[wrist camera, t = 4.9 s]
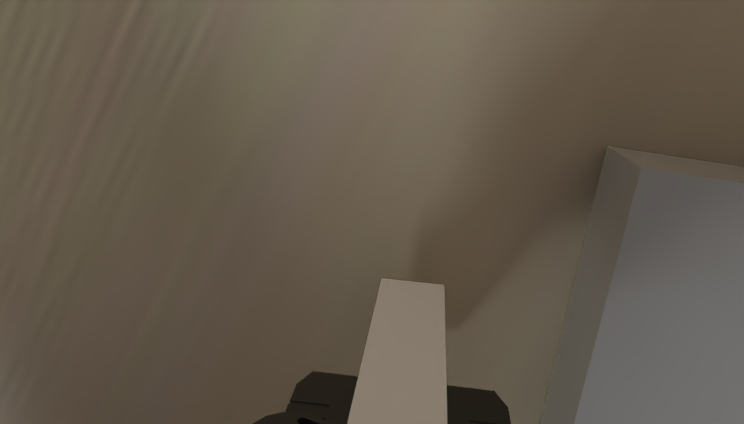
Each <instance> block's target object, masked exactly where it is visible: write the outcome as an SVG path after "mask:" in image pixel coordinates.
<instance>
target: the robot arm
mask: <svg viewBox="0 0 744 424" xmlns="http://www.w3.org/2000/svg"><path fill="white" fill-rule="evenodd" d="M253 424H511V422H510V416H509V411H508V407H507V406H506V405H505V404H504V402H503V401H502V400H501V399H500V397H499V396H498V395H497V394H496V393H495V391H489V390H481V389H473V388H464V387H456V386H448V385H447V382H446V335H445V289H444V285H441V284H432V283H423V282H413V281H404V280H395V279H385V278H381V282H380V287H379V291H378V295H377V299H376V303H375V308H374V312H373V316H372V320H371V325H370V329H369V333H368V337H367V342H366V346H365V350H364V354H363V358H362V363H361V367H360V371H359V375H358V377H356V376H348V375H339V374H331V373H323V372H314V371H313V372H311V373H310V374H309V375H308V376H306V377H305V378H304V379H303V380H301V381H300V382H299V383H297V385H296V387H295V390H294V392H293V395H292V397H291V400H290V403H289V404H288V407H287V409H286V412H281V413H277V414H273V415H268V416H266V417H264V418H262V419H260V420H258V421H257V422H255V423H253Z"/></svg>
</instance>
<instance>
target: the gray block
mask: <svg viewBox="0 0 744 424" xmlns="http://www.w3.org/2000/svg"><path fill="white" fill-rule="evenodd" d="M539 424H744V167H742V166H736V165H729V164H723V163H716V162H709V161H703V160H696V159H690V158H683V157H676V156H670V155H663V154H657V153H650V152H643V151H637V150H630V149H623V148H617V147H610V146H607V148H606V152H605V156H604V160H603V165H602V169H601V173H600V177H599V181H598V185H597V189H596V193H595V197H594V201H593V205H592V210H591V214H590V218H589V222H588V226H587V230H586V234H585V238H584V242H583V246H582V250H581V254H580V259H579V263H578V267H577V271H576V275H575V279H574V283H573V287H572V291H571V295H570V299H569V303H568V308H567V312H566V316H565V320H564V324H563V328H562V332H561V336H560V340H559V344H558V348H557V353H556V357H555V361H554V365H553V369H552V373H551V377H550V381H549V385H548V389H547V393H546V397H545V402H544V406H543V410H542V414H541V418H540V422H539Z"/></svg>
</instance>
